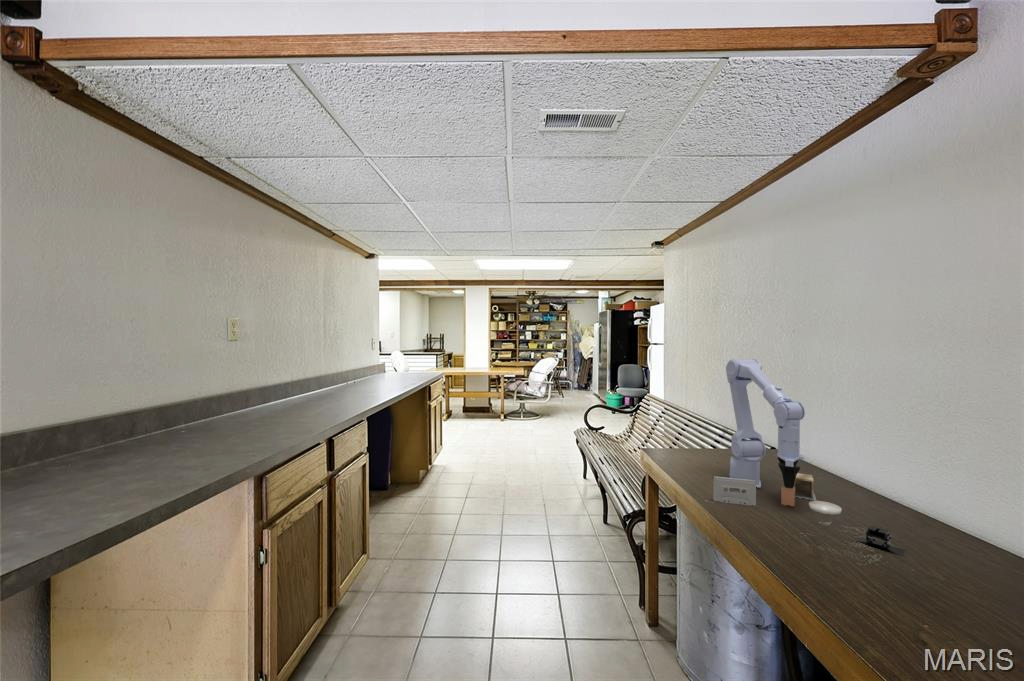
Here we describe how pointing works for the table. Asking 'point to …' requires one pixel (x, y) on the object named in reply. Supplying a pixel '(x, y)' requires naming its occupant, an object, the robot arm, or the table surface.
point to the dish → (825, 507)
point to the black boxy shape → (880, 545)
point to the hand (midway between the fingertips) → (788, 484)
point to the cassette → (733, 496)
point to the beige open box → (804, 484)
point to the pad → (804, 495)
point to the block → (787, 496)
